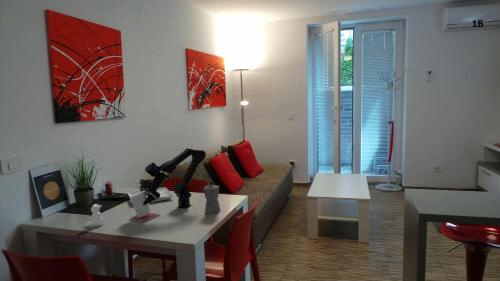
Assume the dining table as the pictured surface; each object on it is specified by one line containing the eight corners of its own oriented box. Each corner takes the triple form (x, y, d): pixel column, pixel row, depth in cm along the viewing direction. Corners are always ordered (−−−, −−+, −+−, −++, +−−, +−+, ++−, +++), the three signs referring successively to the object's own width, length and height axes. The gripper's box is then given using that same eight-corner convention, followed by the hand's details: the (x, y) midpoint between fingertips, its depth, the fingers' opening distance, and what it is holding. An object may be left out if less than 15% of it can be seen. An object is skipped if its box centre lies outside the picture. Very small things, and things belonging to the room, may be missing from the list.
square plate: (127, 197, 250) (127, 192, 249) (165, 191, 261) (165, 186, 260) (131, 207, 225) (131, 201, 225) (174, 200, 237) (173, 194, 236)
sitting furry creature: (99, 221, 201) (97, 200, 199) (109, 223, 196) (107, 202, 195) (84, 226, 193) (82, 205, 191) (94, 228, 188) (92, 207, 187)
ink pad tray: (159, 215, 205) (159, 213, 205) (145, 222, 195) (145, 220, 195) (143, 213, 211) (143, 211, 210) (129, 220, 200) (129, 217, 200)
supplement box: (150, 213, 199) (143, 193, 197) (137, 218, 198) (130, 197, 196) (151, 209, 206) (144, 190, 204) (139, 214, 205) (131, 194, 203)
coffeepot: (222, 214, 203) (220, 184, 201) (206, 216, 201) (204, 185, 199) (218, 206, 218) (216, 178, 216) (203, 208, 216) (201, 179, 214)
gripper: (141, 171, 209) (124, 192, 204) (153, 175, 195) (135, 198, 189) (154, 181, 215) (138, 202, 210) (167, 187, 200) (150, 209, 195)
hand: (140, 203), depth 201 cm, fingers closed on supplement box, 9 cm apart
